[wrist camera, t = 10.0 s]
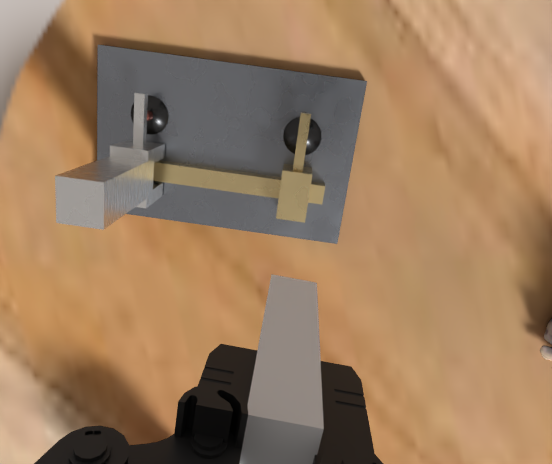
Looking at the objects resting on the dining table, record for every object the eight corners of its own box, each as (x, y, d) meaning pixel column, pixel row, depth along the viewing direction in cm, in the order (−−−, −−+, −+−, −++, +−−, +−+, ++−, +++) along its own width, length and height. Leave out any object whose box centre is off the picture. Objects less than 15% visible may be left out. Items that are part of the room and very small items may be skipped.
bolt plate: (101, 45, 37) (97, 44, 36) (365, 81, 37) (367, 81, 36) (100, 207, 42) (96, 209, 41) (336, 240, 41) (337, 244, 40)
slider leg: (131, 90, 37) (53, 92, 26) (167, 95, 37) (104, 100, 26) (129, 191, 40) (56, 234, 28) (162, 195, 40) (103, 241, 28)
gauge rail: (121, 86, 37) (104, 86, 34) (335, 116, 37) (338, 118, 34) (119, 185, 40) (104, 194, 37) (319, 214, 40) (320, 224, 37)
